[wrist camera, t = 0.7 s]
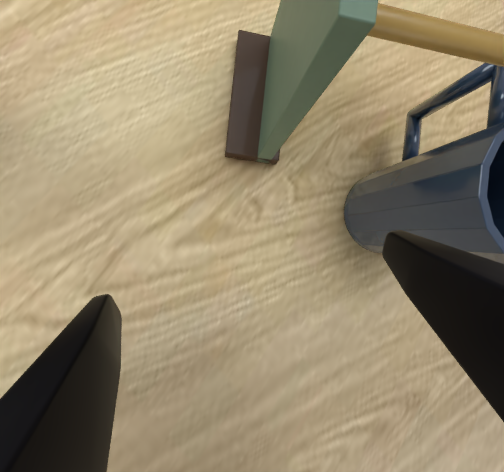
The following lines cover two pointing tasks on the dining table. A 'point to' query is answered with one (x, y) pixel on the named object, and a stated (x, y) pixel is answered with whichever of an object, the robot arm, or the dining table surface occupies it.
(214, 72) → the dining table surface
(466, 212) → the mug
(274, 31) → the door
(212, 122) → the dining table surface
